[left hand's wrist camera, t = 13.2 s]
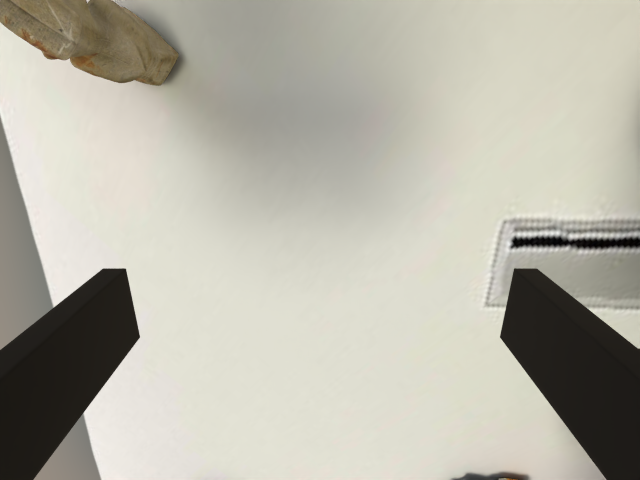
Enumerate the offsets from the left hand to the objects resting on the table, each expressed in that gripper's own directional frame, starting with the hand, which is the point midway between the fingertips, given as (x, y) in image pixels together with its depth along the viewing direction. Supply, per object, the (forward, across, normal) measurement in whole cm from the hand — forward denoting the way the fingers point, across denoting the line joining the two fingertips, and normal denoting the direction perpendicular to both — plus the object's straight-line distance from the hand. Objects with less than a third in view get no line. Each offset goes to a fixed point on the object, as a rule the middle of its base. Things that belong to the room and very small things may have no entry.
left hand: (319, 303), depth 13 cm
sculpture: (+31, -17, +11) cm, 37 cm away
